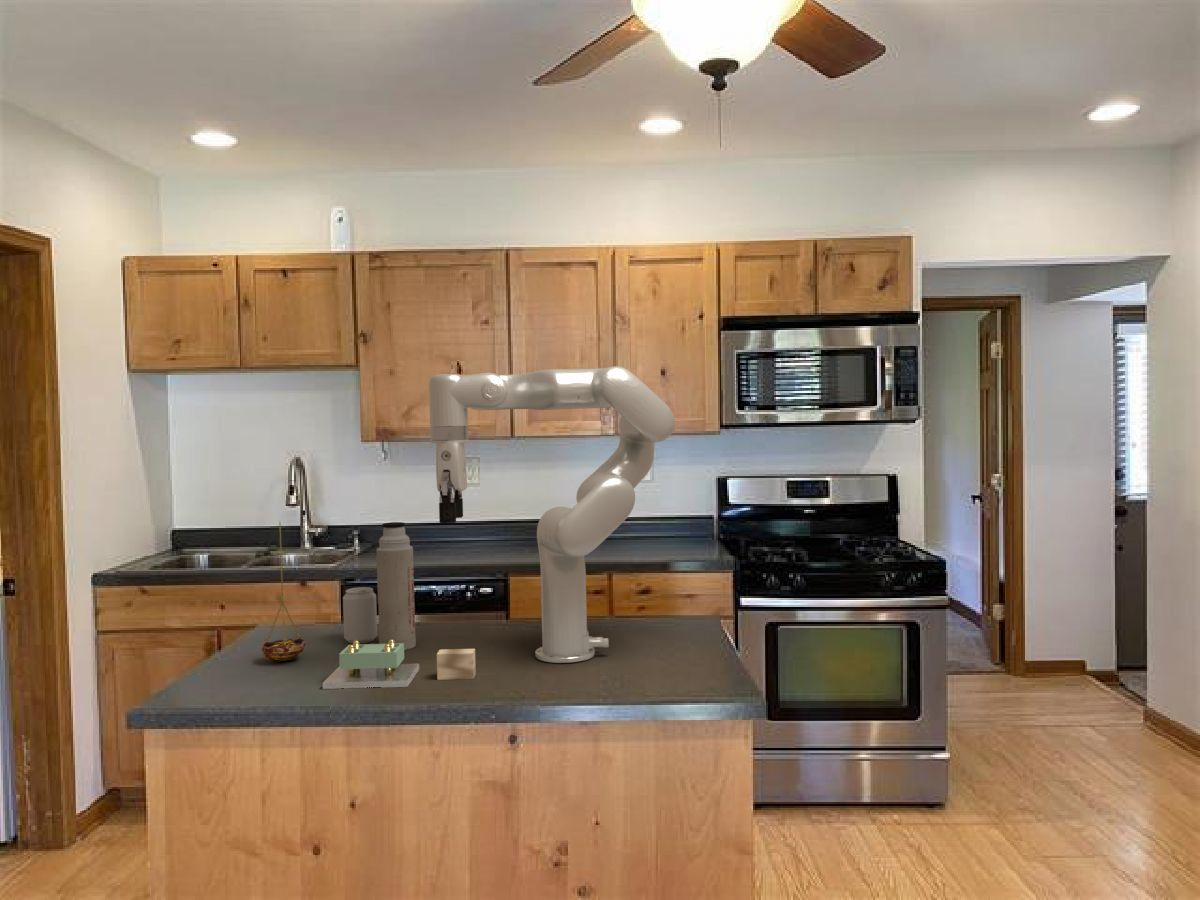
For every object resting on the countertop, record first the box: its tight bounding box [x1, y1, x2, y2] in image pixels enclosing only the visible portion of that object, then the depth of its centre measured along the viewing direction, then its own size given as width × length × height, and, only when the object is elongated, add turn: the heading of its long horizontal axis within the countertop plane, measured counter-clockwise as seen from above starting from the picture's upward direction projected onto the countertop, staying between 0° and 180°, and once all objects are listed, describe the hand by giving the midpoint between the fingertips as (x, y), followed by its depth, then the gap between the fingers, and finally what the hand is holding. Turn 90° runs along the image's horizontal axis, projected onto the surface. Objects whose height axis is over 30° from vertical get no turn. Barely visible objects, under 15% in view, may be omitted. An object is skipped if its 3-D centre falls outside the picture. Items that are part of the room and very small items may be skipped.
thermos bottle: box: [376, 521, 416, 651], centre depth 200 cm, size 8×8×28 cm
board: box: [338, 643, 405, 669], centre depth 175 cm, size 11×7×3 cm, turn 91°
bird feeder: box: [261, 521, 307, 663], centre depth 190 cm, size 9×9×30 cm
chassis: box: [322, 639, 420, 690], centre depth 175 cm, size 16×12×7 cm
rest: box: [436, 648, 477, 681], centre depth 175 cm, size 7×4×5 cm, turn 91°
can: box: [342, 586, 378, 644], centre depth 207 cm, size 8×8×12 cm
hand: (451, 520), depth 180 cm, fingers open, 9 cm apart
